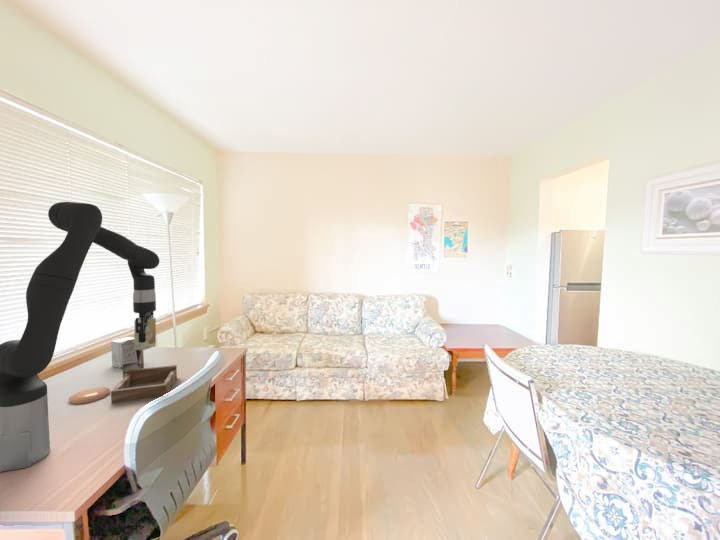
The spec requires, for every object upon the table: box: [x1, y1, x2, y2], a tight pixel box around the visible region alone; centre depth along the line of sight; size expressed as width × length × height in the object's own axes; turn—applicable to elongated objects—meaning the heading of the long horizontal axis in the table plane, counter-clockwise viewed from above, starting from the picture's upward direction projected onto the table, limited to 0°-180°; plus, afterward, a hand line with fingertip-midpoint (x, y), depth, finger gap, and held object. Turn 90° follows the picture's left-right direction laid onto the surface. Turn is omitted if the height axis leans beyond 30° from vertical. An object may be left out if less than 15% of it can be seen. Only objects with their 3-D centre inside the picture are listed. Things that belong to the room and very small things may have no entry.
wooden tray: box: [110, 364, 178, 404], centre depth 124 cm, size 18×18×6 cm
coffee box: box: [122, 339, 145, 380], centre depth 137 cm, size 9×6×16 cm
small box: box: [110, 336, 135, 369], centre depth 150 cm, size 8×6×13 cm
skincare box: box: [133, 317, 157, 351], centre depth 122 cm, size 6×4×12 cm
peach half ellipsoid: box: [68, 386, 111, 405], centre depth 117 cm, size 12×12×1 cm
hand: (145, 339), depth 123 cm, fingers closed on skincare box, 7 cm apart
